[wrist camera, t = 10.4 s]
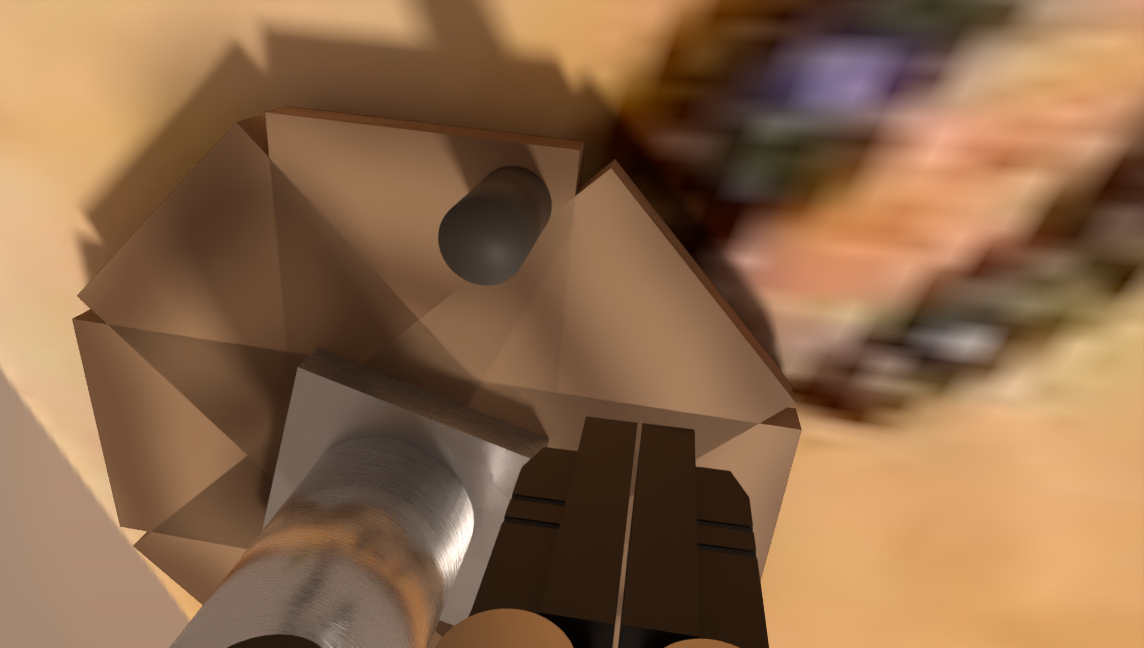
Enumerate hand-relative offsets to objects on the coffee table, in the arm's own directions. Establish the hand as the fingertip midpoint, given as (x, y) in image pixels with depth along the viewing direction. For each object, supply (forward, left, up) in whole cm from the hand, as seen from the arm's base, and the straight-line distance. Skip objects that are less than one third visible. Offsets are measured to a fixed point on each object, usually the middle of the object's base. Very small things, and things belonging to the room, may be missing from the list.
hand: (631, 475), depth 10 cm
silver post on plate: (+3, -14, -13) cm, 20 cm away
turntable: (+3, -14, -15) cm, 20 cm away
